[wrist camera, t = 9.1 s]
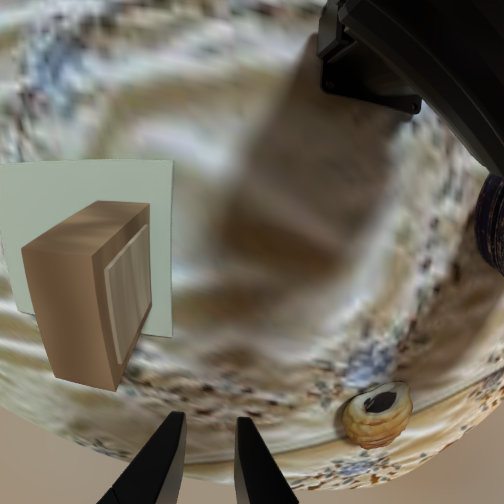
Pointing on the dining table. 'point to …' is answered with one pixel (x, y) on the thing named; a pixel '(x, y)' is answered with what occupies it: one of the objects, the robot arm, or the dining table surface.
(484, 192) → the storage jar
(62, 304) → the wooden block
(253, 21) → the dining table surface
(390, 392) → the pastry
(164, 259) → the mat
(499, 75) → the robot arm
